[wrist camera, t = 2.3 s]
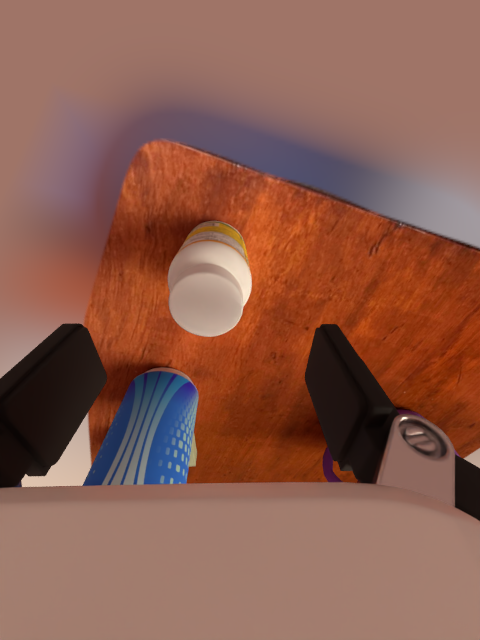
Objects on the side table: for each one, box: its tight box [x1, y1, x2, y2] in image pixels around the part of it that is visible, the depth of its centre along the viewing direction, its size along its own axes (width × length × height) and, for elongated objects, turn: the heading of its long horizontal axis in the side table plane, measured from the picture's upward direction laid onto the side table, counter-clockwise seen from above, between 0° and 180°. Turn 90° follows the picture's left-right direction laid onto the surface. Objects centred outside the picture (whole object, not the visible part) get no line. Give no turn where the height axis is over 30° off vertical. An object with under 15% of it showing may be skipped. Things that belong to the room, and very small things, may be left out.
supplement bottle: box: [168, 221, 252, 337], centre depth 16 cm, size 5×5×10 cm
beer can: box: [83, 367, 198, 486], centre depth 23 cm, size 8×8×16 cm
